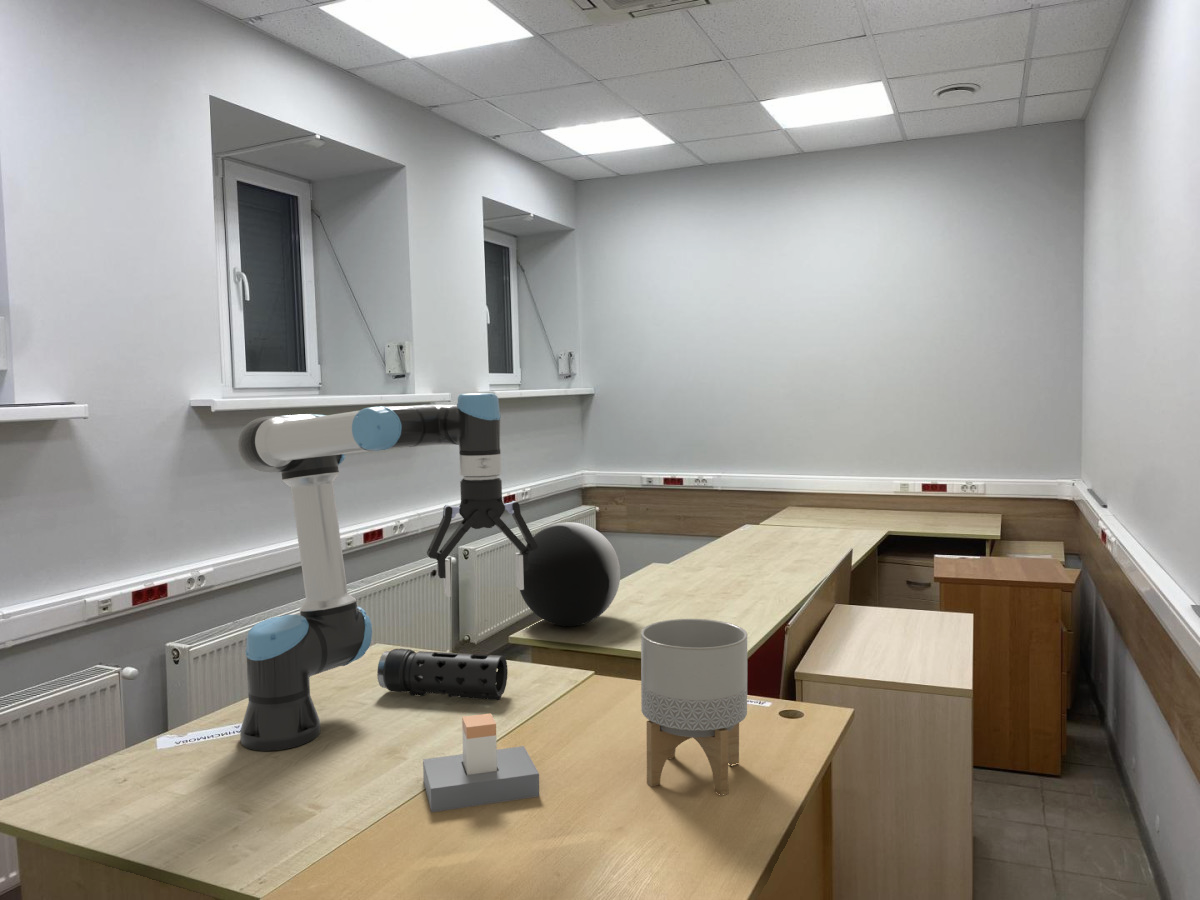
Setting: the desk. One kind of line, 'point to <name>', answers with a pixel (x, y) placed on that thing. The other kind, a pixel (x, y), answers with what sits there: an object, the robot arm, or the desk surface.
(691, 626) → the planter
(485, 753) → the plug
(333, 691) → the desk surface
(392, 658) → the muzzle brake
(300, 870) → the desk surface
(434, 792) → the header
